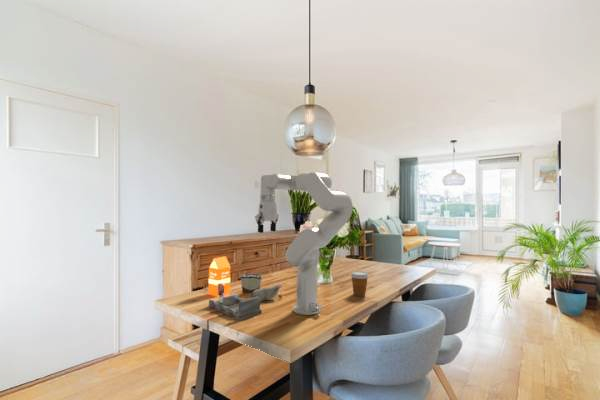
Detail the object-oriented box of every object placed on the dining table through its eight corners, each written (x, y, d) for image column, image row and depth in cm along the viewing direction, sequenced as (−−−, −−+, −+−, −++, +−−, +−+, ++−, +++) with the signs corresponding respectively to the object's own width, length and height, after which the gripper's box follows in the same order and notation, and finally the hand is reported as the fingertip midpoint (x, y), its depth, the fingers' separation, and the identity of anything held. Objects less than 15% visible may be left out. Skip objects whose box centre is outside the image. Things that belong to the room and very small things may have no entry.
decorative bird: (250, 300, 157) (250, 285, 157) (280, 297, 161) (280, 283, 162) (252, 303, 151) (252, 288, 152) (283, 300, 156) (283, 285, 156)
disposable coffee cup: (349, 296, 164) (349, 274, 164) (351, 291, 173) (352, 270, 173) (367, 298, 161) (367, 275, 161) (368, 293, 170) (369, 271, 170)
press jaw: (238, 302, 147) (238, 285, 147) (222, 306, 140) (222, 289, 141) (227, 297, 154) (227, 281, 154) (211, 301, 147) (211, 285, 147)
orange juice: (230, 292, 168) (230, 256, 169) (217, 296, 161) (218, 259, 161) (220, 290, 173) (221, 255, 173) (208, 294, 166) (208, 257, 166)
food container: (264, 291, 172) (264, 273, 172) (261, 294, 166) (261, 276, 166) (242, 290, 173) (243, 272, 173) (239, 293, 167) (239, 275, 167)
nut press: (261, 313, 137) (261, 296, 137) (239, 320, 129) (239, 302, 129) (230, 300, 155) (230, 286, 155) (208, 306, 146) (209, 290, 146)
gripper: (261, 198, 148) (260, 233, 148) (283, 199, 163) (282, 231, 163) (250, 198, 153) (249, 232, 153) (273, 199, 167) (272, 230, 167)
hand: (266, 231), depth 158 cm, fingers open, 9 cm apart
